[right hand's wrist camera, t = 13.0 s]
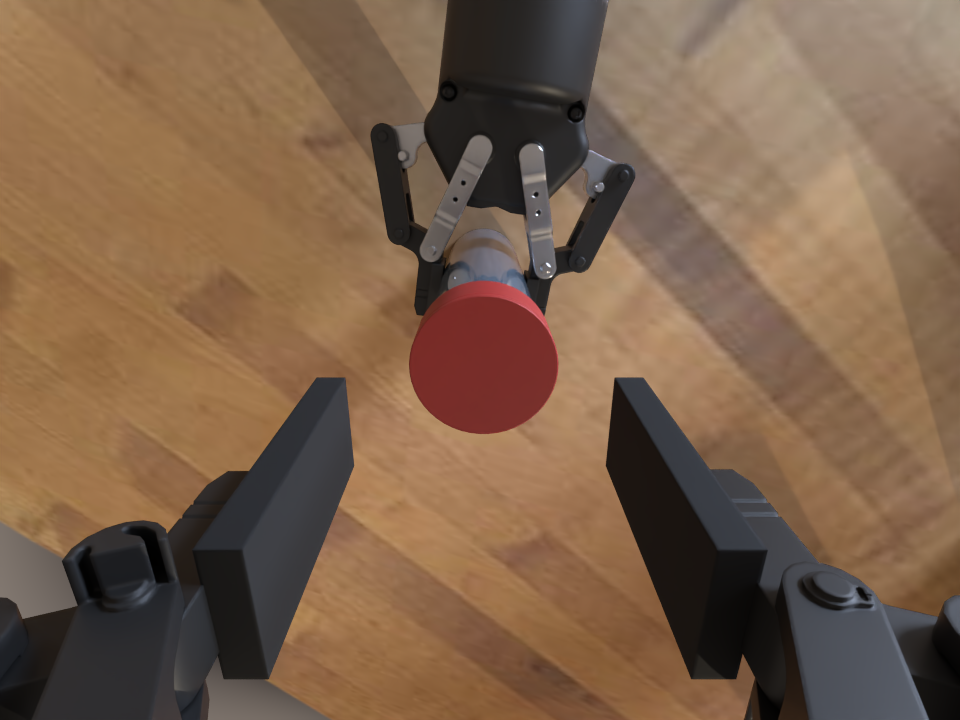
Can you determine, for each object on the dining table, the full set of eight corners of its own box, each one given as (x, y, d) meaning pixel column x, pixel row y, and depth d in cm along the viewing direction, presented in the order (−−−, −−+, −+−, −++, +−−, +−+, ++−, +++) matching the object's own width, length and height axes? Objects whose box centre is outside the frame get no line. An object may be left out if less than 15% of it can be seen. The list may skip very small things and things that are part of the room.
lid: (451, 256, 19) (446, 269, 17) (575, 316, 20) (586, 336, 18) (396, 374, 21) (386, 399, 19) (512, 425, 22) (515, 455, 20)
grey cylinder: (466, 216, 35) (451, 277, 18) (529, 247, 36) (573, 335, 18) (437, 279, 36) (397, 391, 19) (498, 307, 37) (512, 440, 20)
